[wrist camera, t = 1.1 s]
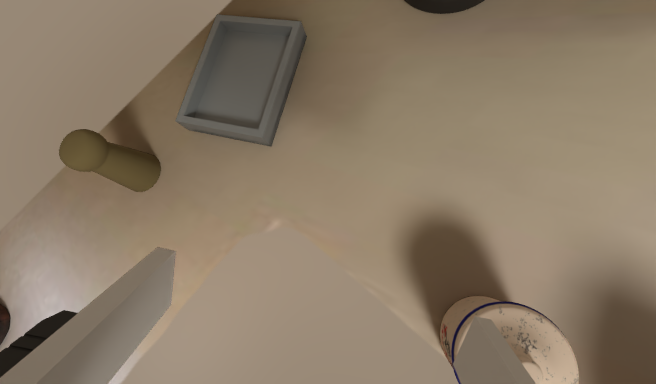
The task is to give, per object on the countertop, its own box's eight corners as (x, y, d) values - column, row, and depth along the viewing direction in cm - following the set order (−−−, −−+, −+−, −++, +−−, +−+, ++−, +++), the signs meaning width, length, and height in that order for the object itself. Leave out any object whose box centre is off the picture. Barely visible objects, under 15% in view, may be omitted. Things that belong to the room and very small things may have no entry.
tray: (226, 28, 50) (216, 14, 47) (306, 36, 46) (301, 21, 43) (188, 129, 46) (175, 121, 44) (271, 146, 43) (262, 137, 40)
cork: (160, 188, 45) (89, 165, 34) (124, 194, 46) (45, 173, 35) (161, 150, 46) (94, 117, 36) (127, 157, 48) (52, 126, 37)
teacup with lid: (420, 321, 34) (433, 347, 23) (489, 277, 34) (537, 282, 23) (493, 433, 30) (552, 529, 19) (572, 385, 30) (678, 454, 19)
